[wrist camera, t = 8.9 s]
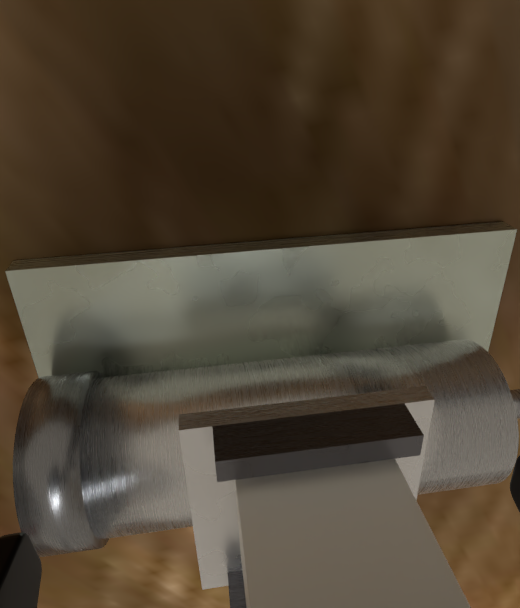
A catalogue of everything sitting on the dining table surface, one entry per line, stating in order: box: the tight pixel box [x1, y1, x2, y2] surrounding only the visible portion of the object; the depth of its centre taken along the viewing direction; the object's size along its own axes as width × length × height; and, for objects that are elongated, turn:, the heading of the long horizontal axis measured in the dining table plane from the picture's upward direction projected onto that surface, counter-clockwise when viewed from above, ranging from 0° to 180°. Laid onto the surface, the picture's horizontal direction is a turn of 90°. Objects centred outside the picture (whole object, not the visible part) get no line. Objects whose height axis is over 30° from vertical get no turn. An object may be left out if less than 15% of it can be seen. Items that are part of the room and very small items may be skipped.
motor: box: [5, 222, 520, 608], centre depth 19 cm, size 20×14×8 cm
